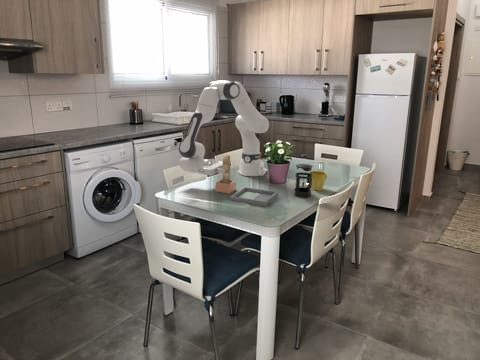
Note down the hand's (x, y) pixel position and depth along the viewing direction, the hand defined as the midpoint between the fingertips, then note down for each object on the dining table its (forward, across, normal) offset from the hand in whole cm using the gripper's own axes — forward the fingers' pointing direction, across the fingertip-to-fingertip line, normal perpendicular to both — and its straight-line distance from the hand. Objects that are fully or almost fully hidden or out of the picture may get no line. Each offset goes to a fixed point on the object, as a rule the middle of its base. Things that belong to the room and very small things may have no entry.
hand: (227, 169), depth 220 cm
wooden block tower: (-1, 0, +10) cm, 10 cm away
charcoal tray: (+18, -4, +13) cm, 23 cm away
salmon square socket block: (-1, 0, +13) cm, 13 cm away
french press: (+40, +14, +13) cm, 44 cm away
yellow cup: (+44, +30, +14) cm, 55 cm away
